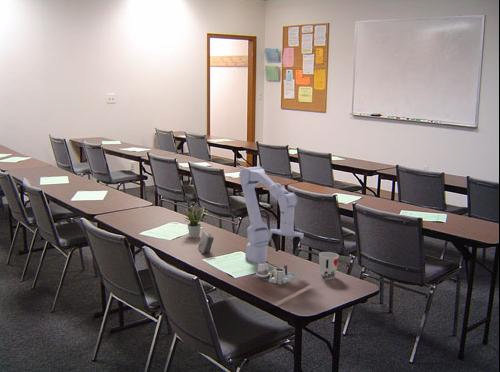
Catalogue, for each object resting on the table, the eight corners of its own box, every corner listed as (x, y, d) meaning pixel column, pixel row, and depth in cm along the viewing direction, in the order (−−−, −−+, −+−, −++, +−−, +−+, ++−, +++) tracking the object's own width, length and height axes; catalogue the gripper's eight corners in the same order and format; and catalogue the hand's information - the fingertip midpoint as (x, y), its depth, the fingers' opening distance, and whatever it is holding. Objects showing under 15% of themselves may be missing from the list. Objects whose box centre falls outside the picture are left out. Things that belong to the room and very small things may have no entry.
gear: (268, 281, 213) (269, 269, 212) (278, 277, 217) (278, 266, 217) (280, 285, 209) (280, 273, 208) (289, 281, 213) (290, 269, 212)
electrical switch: (197, 248, 258) (199, 230, 256) (207, 248, 259) (209, 230, 258) (202, 254, 249) (204, 235, 247) (212, 254, 250) (214, 235, 249)
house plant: (212, 232, 285) (212, 203, 282) (207, 240, 271) (207, 209, 268) (186, 231, 286) (186, 202, 283) (180, 238, 273) (180, 208, 269)
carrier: (251, 278, 219) (252, 269, 218) (273, 269, 230) (273, 260, 229) (280, 288, 209) (281, 278, 209) (301, 278, 221) (302, 268, 220)
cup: (322, 281, 218) (324, 258, 216) (315, 274, 225) (316, 252, 223) (340, 279, 220) (341, 257, 218) (332, 273, 228) (333, 251, 226)
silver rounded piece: (252, 275, 219) (253, 264, 218) (261, 272, 223) (261, 260, 222) (264, 279, 215) (264, 267, 214) (272, 275, 220) (273, 264, 219)
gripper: (306, 221, 222) (304, 252, 224) (274, 217, 227) (273, 247, 230) (301, 225, 215) (299, 256, 218) (268, 220, 221) (267, 251, 223)
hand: (285, 252), depth 223 cm, fingers open, 7 cm apart
